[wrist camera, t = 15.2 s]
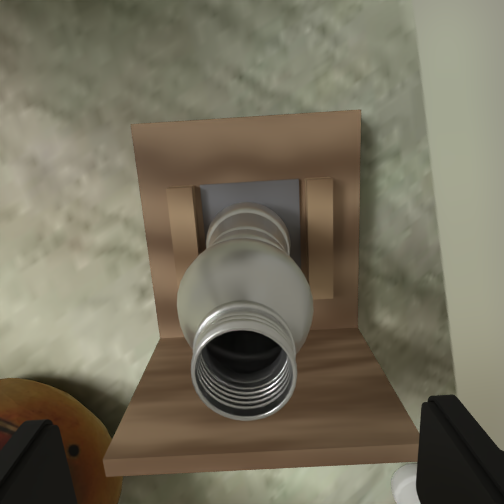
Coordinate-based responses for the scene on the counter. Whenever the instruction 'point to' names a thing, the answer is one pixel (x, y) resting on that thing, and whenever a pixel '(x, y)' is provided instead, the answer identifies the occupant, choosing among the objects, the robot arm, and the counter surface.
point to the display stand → (312, 266)
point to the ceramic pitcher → (63, 434)
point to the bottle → (405, 485)
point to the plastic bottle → (245, 314)
